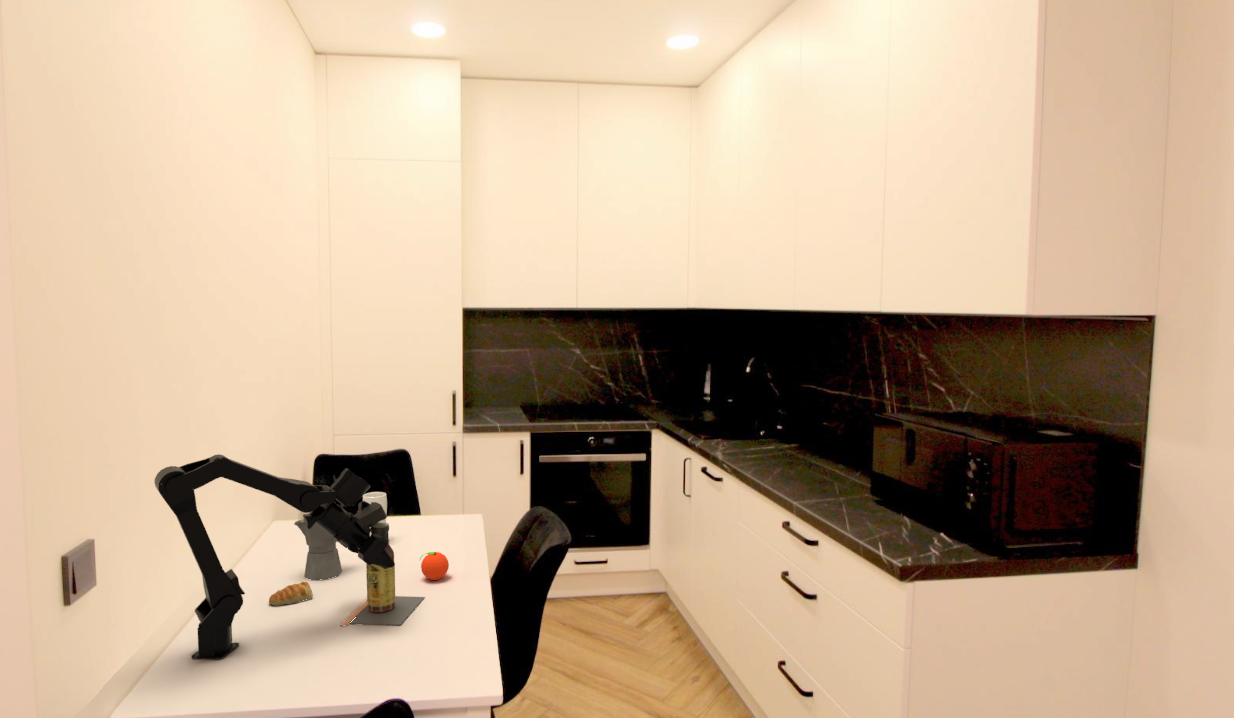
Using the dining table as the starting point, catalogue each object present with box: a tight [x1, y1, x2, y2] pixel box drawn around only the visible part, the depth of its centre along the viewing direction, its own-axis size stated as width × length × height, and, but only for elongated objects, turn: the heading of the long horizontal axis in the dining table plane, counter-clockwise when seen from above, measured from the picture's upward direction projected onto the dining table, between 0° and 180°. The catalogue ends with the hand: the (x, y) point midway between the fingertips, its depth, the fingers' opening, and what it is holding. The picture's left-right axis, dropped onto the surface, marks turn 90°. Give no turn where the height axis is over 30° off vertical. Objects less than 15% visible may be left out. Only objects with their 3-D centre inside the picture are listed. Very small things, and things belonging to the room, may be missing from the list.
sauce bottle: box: [365, 522, 396, 613], centre depth 175 cm, size 6×6×20 cm
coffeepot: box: [293, 512, 355, 581], centre depth 200 cm, size 15×9×18 cm, turn 116°
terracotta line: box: [340, 599, 368, 626], centre depth 180 cm, size 26×2×1 cm, turn 176°
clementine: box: [419, 551, 450, 581], centre depth 196 cm, size 8×7×7 cm
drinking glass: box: [362, 491, 388, 536], centre depth 224 cm, size 7×7×15 cm
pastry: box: [268, 581, 314, 607], centre depth 182 cm, size 9×7×4 cm
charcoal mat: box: [349, 595, 425, 627], centre depth 175 cm, size 16×12×1 cm
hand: (387, 561), depth 176 cm, fingers open, 7 cm apart
